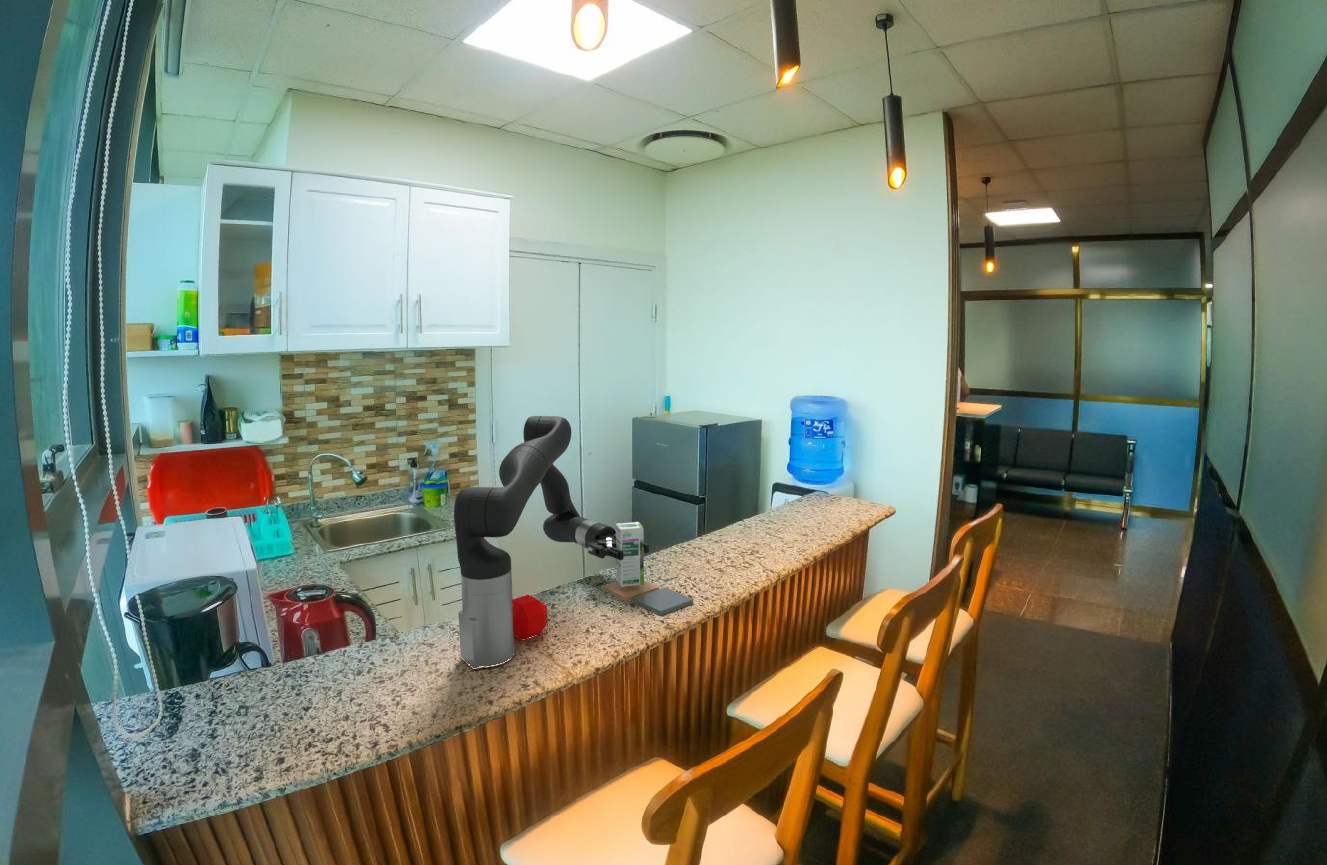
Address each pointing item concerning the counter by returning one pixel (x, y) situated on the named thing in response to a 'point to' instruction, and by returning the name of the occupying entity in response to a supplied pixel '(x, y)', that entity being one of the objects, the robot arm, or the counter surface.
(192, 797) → the counter surface
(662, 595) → the slate tile
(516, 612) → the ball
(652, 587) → the terracotta tile
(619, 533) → the syrup box
